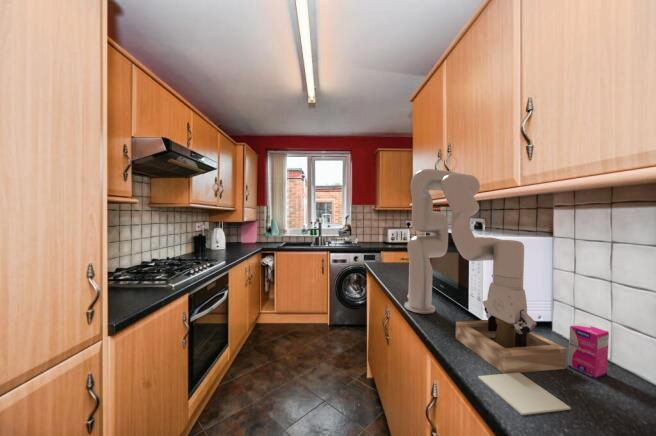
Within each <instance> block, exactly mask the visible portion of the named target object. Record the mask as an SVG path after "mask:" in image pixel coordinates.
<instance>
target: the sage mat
mask: <svg viewBox="0 0 656 436" xmlns="http://www.w3.org/2000/svg"><path fill="white" fill-rule="evenodd" d="M477 379H479V380H480V381H481V382H482V383H483V384H484V385H485V386H487V387H488V388H489V389H491V390H492V391H493V392H494V393H495V395H497V396H499V397H500V399H502V400H503V401H505V403H507V404H508V405H509V406H510V407H512V408H513V409H514V410H515V411H516V412H517V413H519V415H520V416H528V415H537V414H543V413H552V412H560V411H567V410H569V411H570V410H571V409H572V408H571V406H569V405H567V404H566V403H564V402H563V401H562V400H560V399H559V398H557V397H555V395H553V394H552V393H550V392H549V391H547V390H546V389H544V388H543V387H542V386H540V385H538V383H536V382H534V381H532V380H531V379H530V378H528V377H526V376H525V375H524V374H522V372H521V373H508V374H503V373H500V374H499V373H498V374H490V375H489V374H487V375H478V376H477Z"/></svg>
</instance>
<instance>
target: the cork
mask: <svg viewBox="0 0 656 436" xmlns="http://www.w3.org/2000/svg"><path fill="white" fill-rule="evenodd" d="M496 323H497V330H496V335H495V338H494V340H493V341H494V342H496V343H497V344H499V345H500V346H502V347H504V348H516V346H515V332H514V328H515V326H514V325H513V324H508V323H506V322H504V321H502V320H500V319H498V318H496Z"/></svg>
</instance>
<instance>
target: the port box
mask: <svg viewBox="0 0 656 436" xmlns="http://www.w3.org/2000/svg"><path fill="white" fill-rule="evenodd" d="M519 326H520V328H522V327H521V325H519ZM514 332H515V333H516V332H517V330H516V328H514ZM495 335H496V331H493V332H489V331H488V319H487V320H486V319H485V320H468V321H467V320H465V321H455V339H456V340H457V341H458V342H459V343H461V344H462V345H464V346H466V347H467V348H468V349H469V350H471V351H472V352H474V353H475V354H477V356H479V357H480V358H482V359H483V360H484V361H486V362H487V363H488V364H490V365H491V366H493V368H495V369H497V371H499V372H501V374H508V373H521V374H522V373H531V372H542V371H552V370H555V371H556V370H564V369H565V370H566V365H567V363H566V360H567V347H564V346H562V345H560V344H558V343H556V342H554V341H552V340H550V339H548V338H545V337H544V336H541V335H540V334H537V333H535V332H534V331H531V332H530V333H529V334H527V346H526V347H516V348H504V347H502V346H500V345H499V344H497V343H496V342H494V340H492V338H494V339H495Z"/></svg>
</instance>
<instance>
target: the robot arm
mask: <svg viewBox="0 0 656 436" xmlns="http://www.w3.org/2000/svg"><path fill="white" fill-rule="evenodd" d="M480 188H481V184H480V181H479V180H478V178H477V177H476V176H474V175H472V174H466V173H465V174H464V173H459V172H456V171H449V170H441V169H433V168H423V169H420V170H418V171H416V173H414V174H413V176H412V178H411V181H410V193H411V228H412V230H413V231H414V232H416V233H421V234H423V233H424V234H426V233H427V234H428V233H429V235H416V236H413V237H411V238H410V239H409V240H408V241H407V253H408V263H409V264H408V293H407V295H406V297H407V301H405V302H404V308H405V309H406V310H408V311H411V312H412V313H417V314H427V315H428V314H433V313H435V312H436V307H435V306H434V305H433V304H432V297H433V295H432V294H433V265H432V264H431V262H430V258H432V259H433V258H441V257H443V256H445V255H446V254H447V252H448V247H449V220H448V217H447V216H446V215H445V214H444V213H443V212H441V211H434V208H433V207H434V201H433V197H432V195H431V193H430V192H429V191H437V192H438V191H439V192H441V191H442V192H443V195H444V197H445V199H446V202H447V204H448V206H449V208H450V211H451V212H452V214H453V219H452V221H451V229H450V230H451V232H450V233H451V238H452V240H453V243H454V245H455V247H456V250H457V251H458V252H459V253H458V254H460V255H461V257H462V258H463V259H465V260H467V261H470V262H477V261H479V262H481V261H484V262H485V261H492V274H491V278H492V281H491V282H490V284H489V287H488V290H487V291H488V292H487V298H486V300H483V301H482V304H483V308H484V309H483V310H484V312H485V313H486V318H487V320H488V331H489V332H493V331H496V330H497V323H496V318H498V319H500V320H502V321H504V322H506V323H508V324H513V325H514V326H515V328H516V330H517V332H516V333H515V346H516V347H526V346H527V334H529V333H530V332H534V329H535V327H536V326H537V322H536V321H535V320H534V319H533V318H532V317H531V315H529V314H528V303H527V295H526V292H525V289H524V271H525V270H524V268H525V266H524V265H525V245H524V243H523V242H522V241H519V240H510V239H500V238H496V237H485V236H482V237H478V236H476V237H475V235H474V233H473V231H472V229H471V225H470V218H471V217H472V216H474V215H475V214H477V212H478V211H479V210H480V205H479V203H478V200H477V199H476V198H475V196H476V195H477V194H478V193H479V191H480ZM520 326H521V327H522V328H520Z"/></svg>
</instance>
